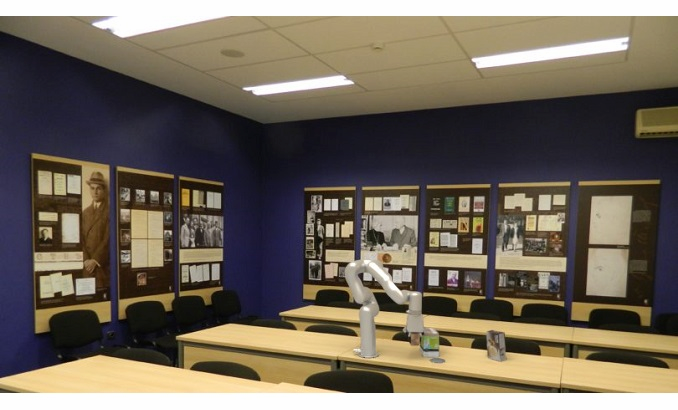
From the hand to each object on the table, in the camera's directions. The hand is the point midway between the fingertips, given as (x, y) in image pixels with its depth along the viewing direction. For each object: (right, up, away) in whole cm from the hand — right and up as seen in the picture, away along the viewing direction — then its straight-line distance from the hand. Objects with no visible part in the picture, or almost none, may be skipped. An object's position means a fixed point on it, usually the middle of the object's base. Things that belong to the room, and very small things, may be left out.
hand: (414, 342), depth 264 cm
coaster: (+13, -10, -3) cm, 17 cm away
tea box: (+12, -11, +12) cm, 20 cm away
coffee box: (+49, -10, -1) cm, 50 cm away
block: (0, -1, 0) cm, 1 cm away
